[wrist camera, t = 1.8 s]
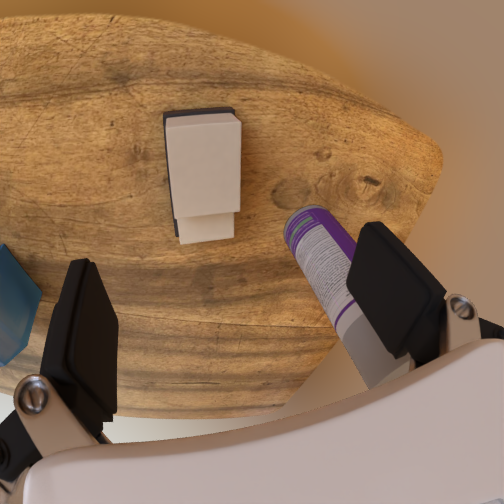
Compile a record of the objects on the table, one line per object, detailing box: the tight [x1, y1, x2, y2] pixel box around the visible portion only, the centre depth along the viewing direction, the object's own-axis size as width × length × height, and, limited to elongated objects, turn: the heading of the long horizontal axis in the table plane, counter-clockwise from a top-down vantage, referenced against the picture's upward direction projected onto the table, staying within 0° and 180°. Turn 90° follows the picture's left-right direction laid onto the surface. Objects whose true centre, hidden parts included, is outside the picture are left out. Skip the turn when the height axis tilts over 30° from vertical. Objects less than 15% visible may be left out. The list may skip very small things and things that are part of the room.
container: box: [284, 205, 410, 390], centre depth 19 cm, size 5×5×15 cm
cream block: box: [163, 107, 242, 245], centre depth 18 cm, size 9×4×4 cm, turn 178°
